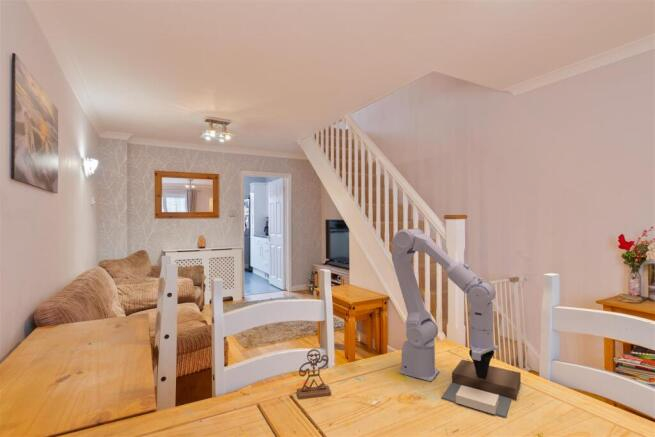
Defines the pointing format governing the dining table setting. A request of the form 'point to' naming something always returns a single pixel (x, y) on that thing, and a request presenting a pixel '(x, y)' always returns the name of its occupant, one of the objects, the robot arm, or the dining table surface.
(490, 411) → the tile
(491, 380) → the block
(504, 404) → the mat
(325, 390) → the gingerbread man figurine
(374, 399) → the dining table surface
